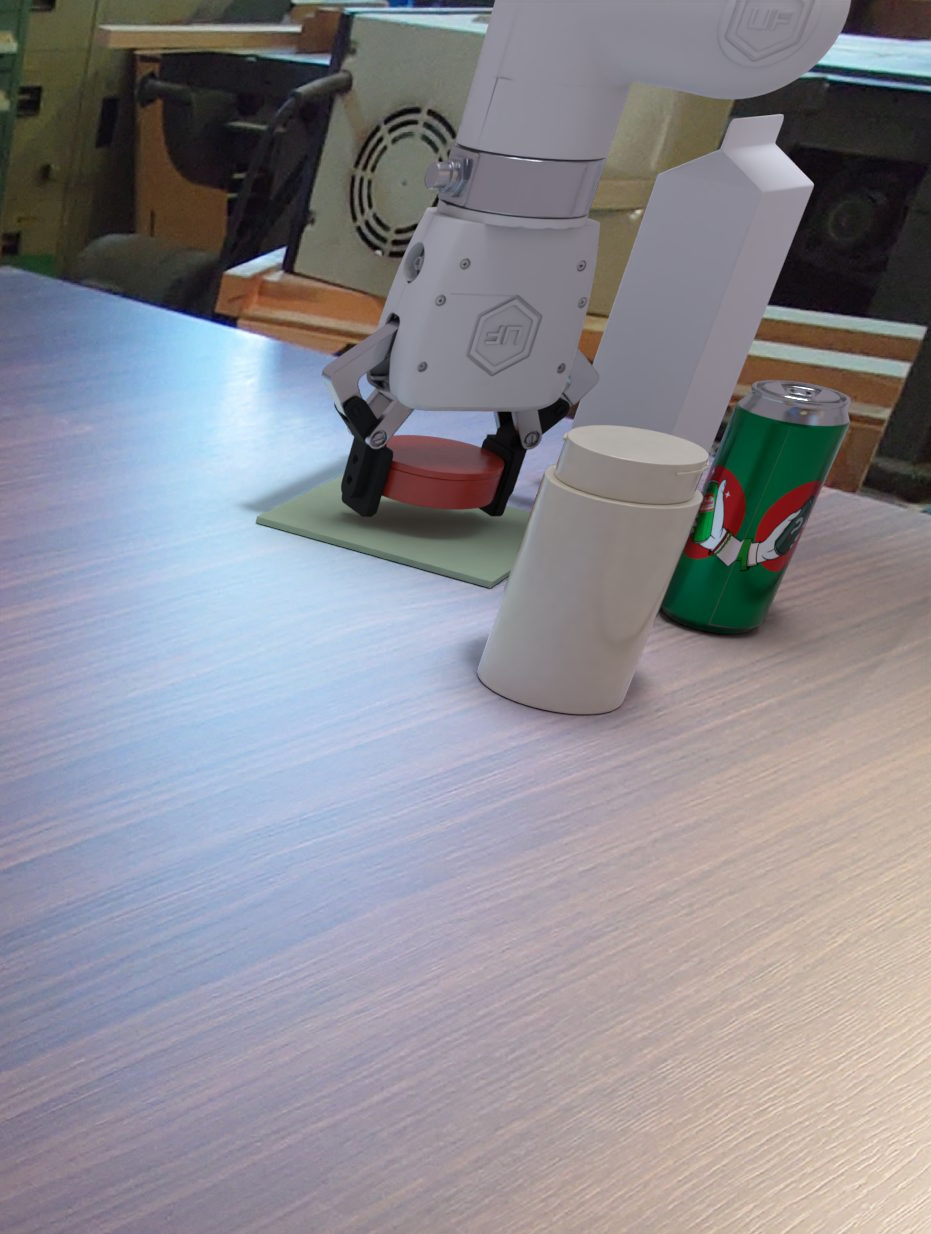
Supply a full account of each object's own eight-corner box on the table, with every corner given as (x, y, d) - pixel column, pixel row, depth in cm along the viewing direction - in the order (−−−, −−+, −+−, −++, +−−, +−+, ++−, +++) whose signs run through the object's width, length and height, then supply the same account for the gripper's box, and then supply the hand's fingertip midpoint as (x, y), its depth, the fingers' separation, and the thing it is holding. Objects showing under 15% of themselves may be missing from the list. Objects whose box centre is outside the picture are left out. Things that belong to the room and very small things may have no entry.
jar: (626, 676, 83) (720, 438, 77) (619, 726, 79) (719, 477, 72) (484, 647, 86) (563, 414, 79) (469, 694, 81) (552, 449, 74)
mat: (577, 530, 101) (580, 524, 101) (490, 588, 93) (492, 581, 93) (354, 473, 109) (356, 467, 109) (255, 522, 101) (256, 516, 100)
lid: (389, 508, 97) (399, 472, 95) (341, 467, 103) (351, 433, 101) (515, 511, 97) (527, 475, 96) (460, 471, 103) (471, 436, 102)
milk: (545, 499, 106) (674, 112, 94) (597, 484, 109) (729, 106, 97) (638, 528, 102) (786, 126, 90) (690, 511, 105) (840, 120, 93)
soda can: (761, 614, 91) (859, 388, 84) (758, 645, 87) (861, 412, 81) (658, 594, 93) (745, 371, 86) (651, 623, 89) (742, 394, 83)
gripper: (400, 197, 86) (310, 532, 96) (711, 204, 88) (591, 531, 98) (334, 172, 93) (256, 488, 103) (626, 178, 95) (521, 488, 105)
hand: (421, 507), depth 100 cm, fingers closed on lid, 7 cm apart
